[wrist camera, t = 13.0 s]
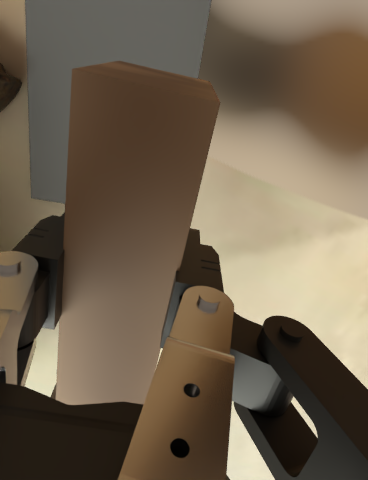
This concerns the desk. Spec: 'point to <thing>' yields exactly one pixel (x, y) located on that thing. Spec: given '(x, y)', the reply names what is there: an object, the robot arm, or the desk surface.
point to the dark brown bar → (7, 88)
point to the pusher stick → (126, 222)
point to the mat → (96, 52)
